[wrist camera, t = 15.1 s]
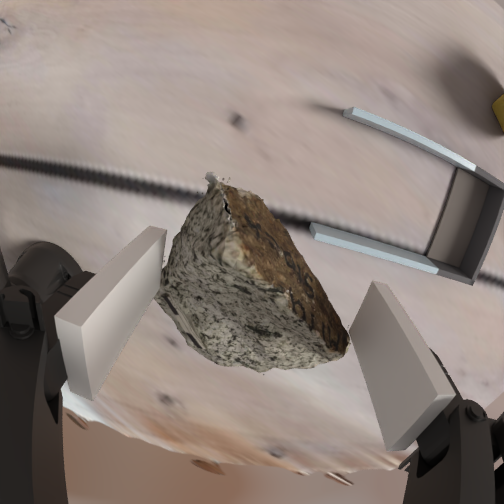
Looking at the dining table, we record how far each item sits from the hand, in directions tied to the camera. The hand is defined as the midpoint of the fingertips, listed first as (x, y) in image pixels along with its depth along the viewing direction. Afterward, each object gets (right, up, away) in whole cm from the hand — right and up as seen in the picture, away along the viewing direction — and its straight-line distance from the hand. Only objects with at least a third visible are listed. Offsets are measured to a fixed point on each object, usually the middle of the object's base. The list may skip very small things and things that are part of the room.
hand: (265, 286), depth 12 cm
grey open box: (+28, +6, +21) cm, 36 cm away
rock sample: (-1, -1, +3) cm, 3 cm away
